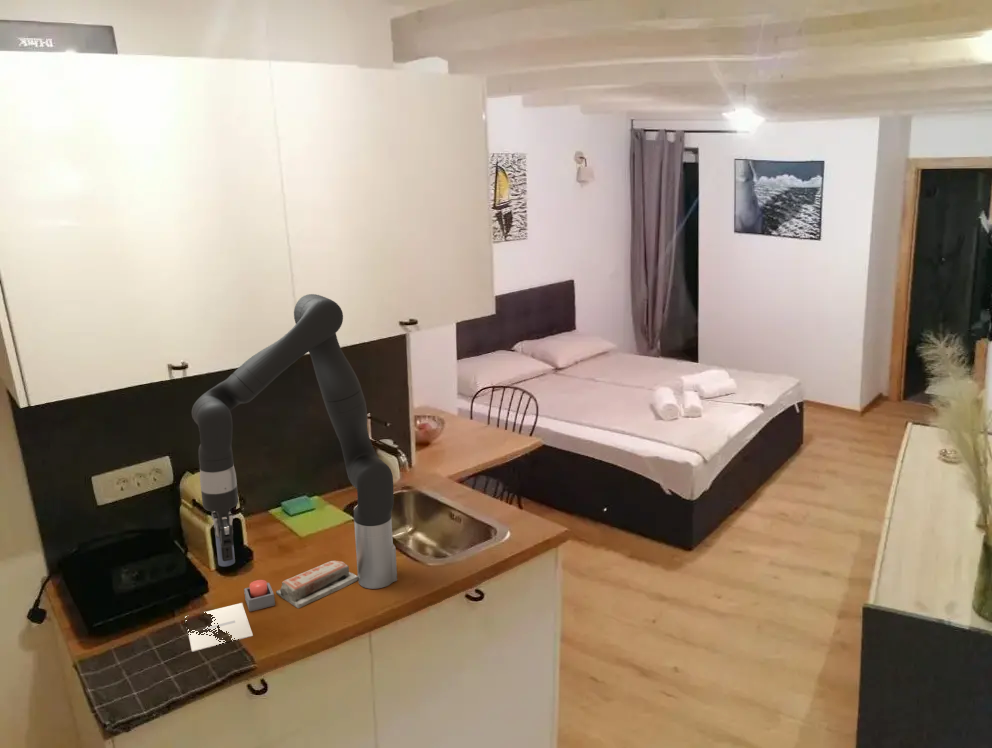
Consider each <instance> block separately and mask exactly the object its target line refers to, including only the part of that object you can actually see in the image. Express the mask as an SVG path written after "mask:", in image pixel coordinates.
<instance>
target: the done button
mask: <svg viewBox="0 0 992 748" xmlns="http://www.w3.org/2000/svg"><path fill="white" fill-rule="evenodd" d="M267 583H268V582H267V581H266V580H265V579H257V580H254V581H251V582H249V587H250V595H251V598H255V597H259V596H264V595H268V590H267Z"/></svg>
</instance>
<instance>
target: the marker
mask: <svg viewBox="0 0 992 748" xmlns="http://www.w3.org/2000/svg"><path fill="white" fill-rule="evenodd" d="M213 528H214V535H215V546H216V553H217V564H218V566H219V567H225V568H226V567H230V566H232V565H234V564H235V563H236V559H235V558H236V557H235V548H234V547H235V545H234V544H233V545H232V554H233V559H232V560H229V561H223V560H222V552H221V546H220V538H219V537H218V536H217V534H216V526H215V527H214V526H213ZM219 532H220V530H219ZM224 541H225V540H224Z"/></svg>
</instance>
